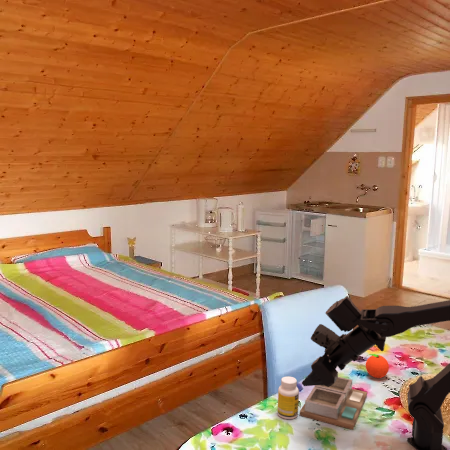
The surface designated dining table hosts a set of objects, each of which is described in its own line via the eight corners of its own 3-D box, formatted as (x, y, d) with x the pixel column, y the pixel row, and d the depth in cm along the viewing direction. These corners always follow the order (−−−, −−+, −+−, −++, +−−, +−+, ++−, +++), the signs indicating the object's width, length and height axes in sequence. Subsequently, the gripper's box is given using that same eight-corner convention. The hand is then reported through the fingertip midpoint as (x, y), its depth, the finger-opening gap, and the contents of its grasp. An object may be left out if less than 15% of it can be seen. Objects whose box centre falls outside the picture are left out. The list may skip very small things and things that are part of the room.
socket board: (353, 429, 119) (353, 423, 119) (299, 415, 126) (299, 409, 125) (366, 396, 136) (367, 390, 136) (318, 385, 142) (319, 379, 142)
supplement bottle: (297, 421, 123) (298, 385, 122) (276, 418, 124) (277, 383, 123) (298, 410, 128) (299, 376, 127) (278, 407, 129) (279, 374, 128)
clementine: (357, 374, 149) (358, 353, 148) (370, 368, 153) (371, 347, 152) (380, 384, 143) (381, 362, 142) (392, 377, 147) (394, 355, 146)
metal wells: (337, 419, 122) (337, 409, 121) (304, 411, 125) (305, 400, 125) (351, 389, 137) (352, 379, 137) (322, 382, 141) (322, 373, 140)
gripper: (340, 306, 125) (299, 338, 132) (321, 330, 109) (275, 365, 115) (369, 340, 123) (325, 371, 130) (354, 370, 107) (305, 403, 113)
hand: (308, 376), depth 122 cm, fingers open, 9 cm apart
